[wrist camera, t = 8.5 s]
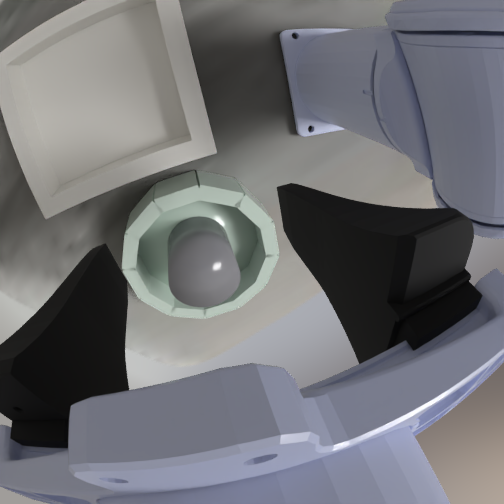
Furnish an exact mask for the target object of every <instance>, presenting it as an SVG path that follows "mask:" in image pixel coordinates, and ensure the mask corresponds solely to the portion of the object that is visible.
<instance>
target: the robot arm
mask: <svg viewBox="0 0 504 504" xmlns="http://www.w3.org/2000/svg"><path fill="white" fill-rule="evenodd" d="M385 19H386V21H387V23H388V25H387V26H376V27H367V28H360V29H335V28H316V29H291V30H284V31H282V32H281V33H280V42H281V47H282V52H283V57H284V62H285V67H286V72H287V77H288V83H289V88H290V94H291V100H292V106H293V112H294V118H295V125H296V131H297V133H298V134H299V135H300V136H302V137H306V136H311V135H316V134H322V133H327V132H333V131H339V130H345V129H347V130H349V131H352V132H355V133H357V134H360V135H362V136H364V137H367V138H369V139H372V140H374V141H376V142H379V143H381V144H383V145H385V146H387V147H390V148H392V149H394V150H396V151H398V152H400V153H402V154H405V155H406V156H408V157H409V158H410V159H411V160H412V162H413V164H414V167H415V170H416V171H417V172H419V173H421V174H423V175H424V176H426V177H428V178H430V179H433V182H432V187H433V195H434V198H435V201H436V204H437V206H438V207H439V208H433V209H421V208H400V207H391V206H382V205H375V204H369V203H364V202H359V201H354V200H350V199H346V198H342V197H338V196H335V195H331V194H328V193H325V192H321V191H318V190H315V189H312V188H309V187H305V186H302V185H298V184H293V183H290V184H287V185H283V186H279V187H277V191H278V197H279V203H280V209H281V215H282V222H283V228H284V231H285V233H286V235H287V237H288V239H289V241H290V243H291V245H292V246H293V248H294V250H295V251H296V252H297V254H298V255H299V257H300V258H301V259H302V261H303V262H304V263H305V265H306V266H307V268H308V269H309V270H310V272H311V273H312V274H313V276H314V277H315V279H316V280H317V281H318V283H319V284H320V286H321V287H322V289H323V290H324V292H325V293H326V295H327V297H328V299H329V301H330V303H331V304H332V306H333V308H334V310H335V312H336V314H337V316H338V318H339V320H340V322H341V324H342V326H343V328H344V330H345V332H346V334H347V336H348V339H349V341H350V343H351V345H352V347H353V350H354V352H355V354H356V357H357V359H358V362H359V365H357V366H354V367H352V368H350V369H348V370H346V371H343V372H341V373H339V374H337V375H334V376H332V377H330V378H327V379H325V380H322V381H320V382H318V383H315V384H313V385H310V386H307V387H305V388H302V389H300V390H299V388H298V385H297V383H296V381H295V379H294V378H293V377H292V376H291V375H290V374H289V373H288V372H287V371H286V370H285V369H284V368H281V367H277V366H268V365H261V364H254V363H250V364H244V365H238V366H232V367H226V368H219V369H216V370H213V371H209V372H205V373H201V374H198V375H194V376H190V377H187V378H182V379H179V380H174V381H170V382H166V383H162V384H157V385H153V386H148V387H143V388H139V389H135V390H129V386H128V379H127V371H126V362H125V336H126V321H127V307H128V291H127V280H126V279H125V277H124V275H123V274H122V272H121V270H120V268H119V267H118V265H117V263H116V261H115V260H114V258H113V256H112V254H111V252H110V251H109V249H108V247H107V245H106V244H103V245H100V246H98V247H95V248H93V249H92V250H91V251H90V252H89V253H88V254H87V255H86V256H85V257H84V258H83V259H82V260H81V261H80V262H79V264H78V265H77V266H76V267H75V268H74V270H73V271H72V272H71V273H70V274H69V276H68V277H67V278H66V279H65V280H64V282H63V283H62V284H61V285H60V286H59V288H58V289H57V290H56V291H55V292H54V294H53V295H52V296H51V297H50V298H49V299H48V301H47V302H46V303H45V304H44V305H43V306H42V307H41V308H40V309H39V310H38V311H37V312H36V313H35V314H34V316H32V317H31V318H30V319H29V320H28V321H27V322H26V323H25V324H24V325H23V326H22V327H21V328H20V329H19V330H18V331H16V332H15V333H14V334H13V335H12V336H11V337H9V338H8V339H7V340H6V341H5V342H3V343H2V344H1V345H0V413H2V414H3V415H4V416H6V417H7V418H9V419H10V420H12V427H9V426H5V425H0V486H1V487H3V488H5V489H8V490H10V491H12V492H15V493H18V494H20V495H23V496H26V497H28V498H31V499H34V500H38V501H42V502H46V503H50V504H450V502H449V500H448V498H447V496H446V494H445V492H444V490H443V488H442V486H441V484H440V482H439V481H438V479H437V477H436V475H435V473H434V471H433V469H432V467H431V466H430V464H429V462H428V460H427V458H426V456H425V454H424V453H423V451H422V449H421V447H420V445H419V444H418V442H417V440H416V438H415V437H414V436H416V435H417V434H419V433H420V432H422V431H423V430H424V429H426V428H427V427H429V426H430V425H432V424H433V423H434V422H436V421H437V420H438V419H440V418H441V417H442V416H443V415H445V414H446V413H447V412H449V411H450V410H451V409H453V408H454V407H455V406H456V405H458V404H459V403H460V402H461V401H462V400H464V399H465V398H466V397H467V396H468V395H469V394H470V393H472V392H473V391H474V390H475V389H476V388H477V387H478V386H479V385H481V384H482V383H483V382H484V381H485V380H486V379H487V378H488V377H489V376H490V375H491V374H492V373H493V372H494V371H495V370H496V369H497V368H498V367H499V366H500V365H501V364H502V363H503V362H504V275H503V274H502V273H501V272H500V271H499V270H498V269H494V270H492V271H491V272H490V273H488V274H487V275H485V276H484V277H483V278H481V279H480V280H479V281H478V282H477V284H476V285H475V286H473V285H472V284H471V283H470V282H469V280H470V278H471V275H470V274H469V272H468V271H466V270H465V266H466V263H467V260H468V257H469V254H470V250H471V247H472V243H473V238H474V234H475V235H478V236H482V237H487V238H494V239H495V238H496V239H504V0H403V1H398V2H394V3H393V4H392V6H391V8H390V12H389V13H387V14H386V15H385ZM292 33H295V34H296V36H297V38H296V39H294V38H292ZM309 126H312V130H311V131H308V127H309Z"/></svg>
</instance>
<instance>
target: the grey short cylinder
mask: <svg viewBox="0 0 504 504" xmlns="http://www.w3.org/2000/svg"><path fill="white" fill-rule="evenodd" d="M240 278H241V275H240V269H239V267H238V264H237V261H236V258H235V255H234V253H233V250H232V247H231V244H230V241H229V239H228V236H227V233H226V231H225V229H224V227H223V226H222V225H221V224H220V223H219V222H217V221H216V220H214V219H211V218H208V217H201V216H198V217H191V218H188V219H185V220H183V221H181V222H180V223H178V224H177V225H176V226H175V227H174V228H173V230H172V231H171V233H170V235H169V237H168V282H169V288H170V291H171V293H172V294H173V296H174V297H175V298H176V299H177V300H179V301H180V302H182V303H184V304H186V305H189V306H193V307H210V306H214V305H217V304H220V303H222V302H224V301H225V300H227V299H228V298H229V297H231V296H232V295H233V294H234V292H235V291H236V290H237V288H238V286H239V283H240Z"/></svg>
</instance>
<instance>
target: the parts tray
mask: <svg viewBox="0 0 504 504" xmlns="http://www.w3.org/2000/svg"><path fill="white" fill-rule="evenodd" d="M0 108H1V111H2V114H3V118H4V121H5V124H6V127H7V130H8V133H9V136H10V139H11V142H12V145H13V148H14V150H15V153H16V156H17V158H18V161H19V163H20V166H21V168H22V170H23V173H24V175H25V177H26V180H27V182H28V184H29V187H30V189H31V191H32V193H33V195H34V197H35V199H36V201H37V203H38V206H39V208H40V210H41V211H42V213H43V215H44V217H45V219H48V218H50V217H52V216H54V215H56V214H58V213H60V212H62V211H64V210H66V209H69V208H71V207H73V206H75V205H77V204H79V203H82V202H84V201H86V200H88V199H91V198H93V197H95V196H98V195H100V194H102V193H105V192H107V191H110V190H112V189H115V188H117V187H120V186H122V185H125V184H127V183H130V182H132V181H135V180H138V179H140V178H143V177H146V176H148V175H151V174H154V173H157V172H160V171H163V170H165V169H168V168H171V167H174V166H177V165H180V164H183V163H187V162H190V161H193V160H196V159H199V158H203V157H206V156H209V155H213V154H216V153H217V150H216V146H215V143H214V139H213V135H212V131H211V127H210V123H209V119H208V115H207V111H206V108H205V104H204V100H203V96H202V92H201V88H200V84H199V80H198V76H197V72H196V68H195V64H194V60H193V56H192V52H191V48H190V44H189V40H188V36H187V32H186V28H185V24H184V20H183V16H182V12H181V7H180V3H179V0H86V1H84V2H82V3H80V4H78V5H76V6H74V7H72V8H70V9H68V10H66V11H64V12H62V13H60V14H58V15H56V16H55V17H53V18H51V19H49V20H48V21H46V22H44V23H43V24H41V25H39V26H38V27H36V28H35V29H33V30H31V31H30V32H28V33H27V34H25V35H24V36H22V37H21V38H20V39H18V40H17V41H15V42H14V43H13V44H11V45H10V46H8V47H7V48H6V49H4V50H3V51H2V52H1V53H0Z"/></svg>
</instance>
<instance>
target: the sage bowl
mask: <svg viewBox="0 0 504 504" xmlns="http://www.w3.org/2000/svg"><path fill="white" fill-rule="evenodd" d="M198 216H201V217H208V218H211V219H214V220H216V221H217V222H219V223H220V224H221V225H222V226H223V227H224V229H225V231H226V233H227V236H228V239H229V241H230V244H231V247H232V250H233V253H234V255H235V258H236V261H237V264H238V267H239V269H240V275H241V278H240V283H239V286H238V288H237V290H236V291H235V292H234V294H233V295H232V296H231V297H229V298H228V299H227V300H225V301H224V302H222V303H220V304H217V305H214V306H210V307H193V306H189V305H186V304H184V303H182V302H180V301H179V300H177V299H176V298H175V297H174V296H173V294H172V293H171V291H170V288H169V282H168V237H169V235H170V233H171V231H172V230H173V228H174V227H175V226H176V225H177V224H178V223H180V222H181V221H183V220H185V219H188V218H191V217H198ZM278 258H279V248H278V243H277V237H276V231H275V225H274V221H273V220H272V218H271V217H270V215H269V214H268V212H267V211H266V209H265V208H264V206H263V205H262V203H261V202H260V201H259V200H258V199H257V198H256V197H255V196H254V195H253V194H252V193H251V192H250V191H249V190H247V189H246V188H245V187H244V186H243V185H242V184H241V183H240V182H239V181H238V180H237V179H235V178H233V177H229V176H224V175H219V174H214V173H209V172H204V171H199V170H196V172H195V170H193V171H190V172H187V173H184V174H181V175H178V176H175V177H172V178H169V179H166V180H163V181H160V182H157V183H156V185H155V184H154V185H153V186H152V187H151V189H150V190H149V191H148V192H147V193H146V194H145V196H144V197H143V198H142V199H141V200H140V201H139V203H138V204H137V205H136V206H135V207H134V209H133V210H132V211H131V213H130V215H129V219H128V223H127V227H126V231H125V236H124V246H123V259H122V271H123V273H124V275H125V277H126V278H127V280H128V282H129V283H130V285H131V287H132V288H133V290H134V292H135V293H136V295H137V296H138V298H139V299H140V300H141V301H143V302H145V303H147V304H148V305H150V306H152V307H154V308H156V309H157V310H159V311H161V312H163V313H165V314H167V315H171V316H175V317H187V318H201V319H204V318H209V317H213V316H216V315H219V314H222V313H226V312H229V311H232V310H235V309H238V307H241V306H243V305H244V304H245V303H246V302H247V301H249V300H250V299H251V298H252V297H253V296H255V295H256V294H257V293H258V292H259V291H261V290H262V289H263V288H264V287H265V285H267V283H268V281H269V278H270V276H271V274H272V271H273V269H274V267H275V264H276V262H277V260H278Z"/></svg>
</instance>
